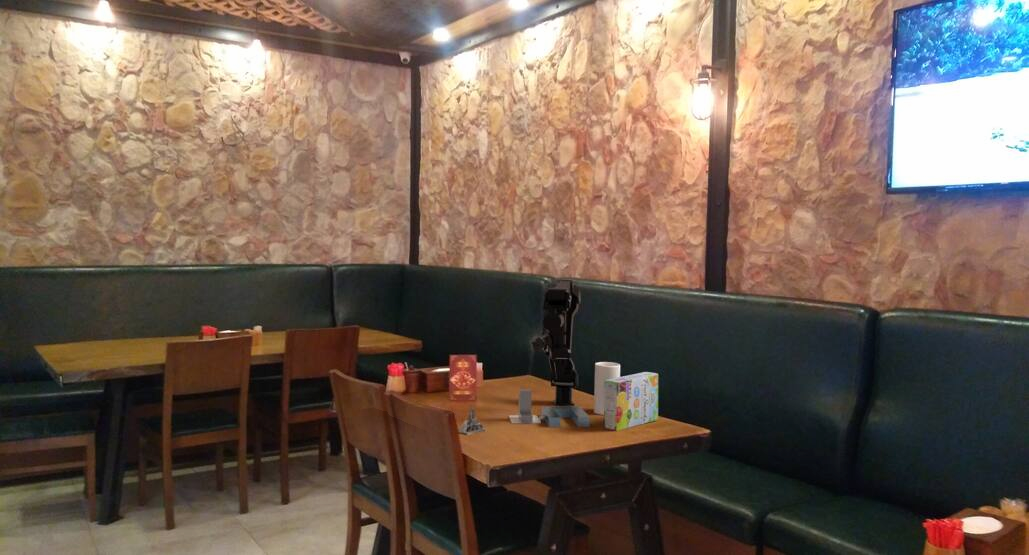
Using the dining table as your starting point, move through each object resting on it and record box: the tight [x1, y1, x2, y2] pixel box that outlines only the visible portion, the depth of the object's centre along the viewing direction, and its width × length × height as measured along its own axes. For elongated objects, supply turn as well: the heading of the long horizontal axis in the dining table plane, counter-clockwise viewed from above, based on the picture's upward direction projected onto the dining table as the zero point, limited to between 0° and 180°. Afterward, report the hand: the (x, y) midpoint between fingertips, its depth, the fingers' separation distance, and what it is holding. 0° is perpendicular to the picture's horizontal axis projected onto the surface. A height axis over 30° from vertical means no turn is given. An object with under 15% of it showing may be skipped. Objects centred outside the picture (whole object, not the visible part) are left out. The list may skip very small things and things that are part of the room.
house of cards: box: [458, 407, 486, 436], centre depth 234 cm, size 9×9×8 cm
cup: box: [593, 361, 621, 416], centre depth 261 cm, size 8×8×16 cm
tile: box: [508, 414, 542, 424], centre depth 248 cm, size 9×9×1 cm
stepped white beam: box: [518, 388, 534, 424], centre depth 246 cm, size 7×4×9 cm, turn 7°
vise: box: [538, 405, 591, 428], centre depth 248 cm, size 15×14×3 cm
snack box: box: [603, 371, 659, 432], centre depth 245 cm, size 21×6×15 cm, turn 135°
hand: (555, 376), depth 253 cm, fingers open, 9 cm apart
